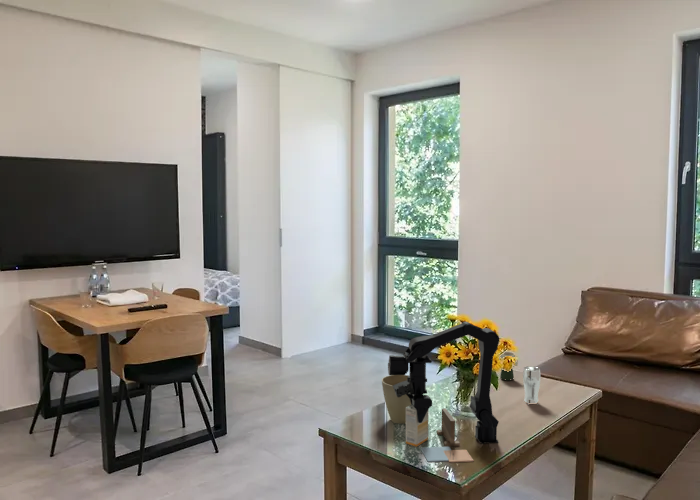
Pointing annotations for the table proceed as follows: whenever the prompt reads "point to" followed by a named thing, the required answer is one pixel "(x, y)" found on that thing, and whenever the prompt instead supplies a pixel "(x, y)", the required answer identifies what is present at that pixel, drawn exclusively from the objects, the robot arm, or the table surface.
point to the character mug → (509, 374)
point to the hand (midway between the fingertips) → (417, 418)
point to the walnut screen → (448, 429)
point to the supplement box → (415, 427)
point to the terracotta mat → (459, 456)
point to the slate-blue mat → (436, 453)
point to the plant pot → (395, 398)
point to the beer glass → (531, 383)
